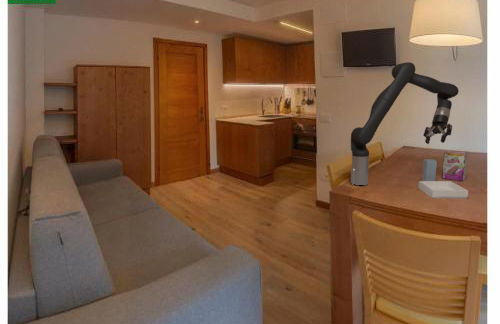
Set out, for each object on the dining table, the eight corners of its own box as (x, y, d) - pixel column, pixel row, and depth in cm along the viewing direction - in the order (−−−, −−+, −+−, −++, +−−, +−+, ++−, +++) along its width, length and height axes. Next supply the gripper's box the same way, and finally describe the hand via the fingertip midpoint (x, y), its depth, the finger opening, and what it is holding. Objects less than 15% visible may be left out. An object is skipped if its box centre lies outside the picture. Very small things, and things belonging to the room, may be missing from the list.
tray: (432, 198, 154) (432, 190, 153) (418, 188, 172) (419, 181, 171) (467, 198, 152) (468, 190, 151) (450, 188, 169) (450, 181, 168)
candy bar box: (441, 178, 188) (443, 152, 185) (444, 177, 192) (446, 150, 188) (462, 181, 180) (465, 154, 177) (465, 180, 183) (468, 152, 180)
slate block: (425, 185, 176) (427, 161, 173) (421, 183, 181) (423, 159, 178) (434, 185, 175) (436, 161, 172) (431, 183, 180) (433, 159, 177)
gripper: (425, 116, 181) (418, 140, 178) (450, 111, 168) (443, 138, 165) (432, 122, 184) (426, 146, 181) (458, 118, 171) (451, 144, 168)
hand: (434, 142), depth 173 cm, fingers open, 8 cm apart
